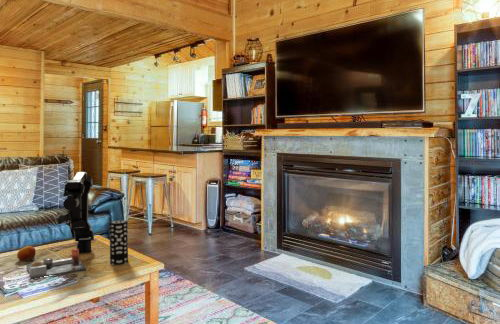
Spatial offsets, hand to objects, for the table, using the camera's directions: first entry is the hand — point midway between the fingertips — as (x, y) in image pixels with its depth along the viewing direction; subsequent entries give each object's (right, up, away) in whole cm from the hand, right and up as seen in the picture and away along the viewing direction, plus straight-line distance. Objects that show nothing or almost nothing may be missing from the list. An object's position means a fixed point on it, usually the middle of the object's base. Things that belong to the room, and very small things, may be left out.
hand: (75, 239), depth 188 cm
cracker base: (-6, -12, -6) cm, 15 cm away
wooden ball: (-10, -13, -15) cm, 22 cm away
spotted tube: (+20, -12, +3) cm, 24 cm away
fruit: (-28, -12, +8) cm, 31 cm away
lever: (-7, -11, -4) cm, 14 cm away
